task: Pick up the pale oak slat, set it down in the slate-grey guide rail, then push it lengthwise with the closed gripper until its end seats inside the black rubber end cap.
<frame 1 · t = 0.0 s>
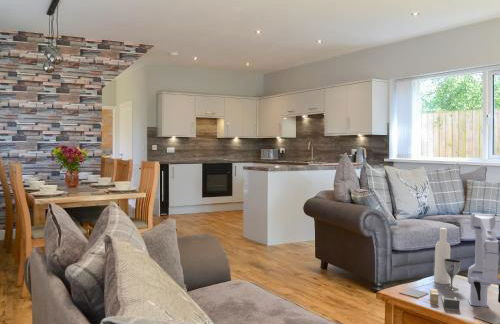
hand: (489, 301, 196), 10 cm above the table, fingers open, 7 cm apart
slat: (433, 301, 226), on the table
bottle: (441, 282, 259), on the table
wine glass: (451, 289, 247), on the table
endcap rail: (450, 304, 222), on the table
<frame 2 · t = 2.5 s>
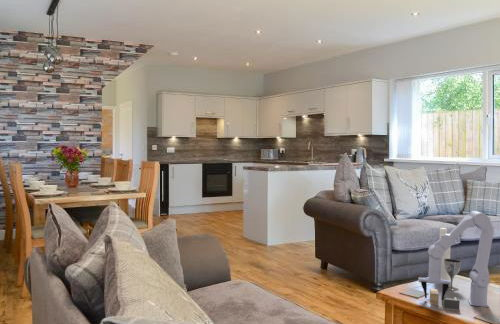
hand: (434, 298, 226), 1 cm above the table, fingers open, 7 cm apart
nothing on the table moved.
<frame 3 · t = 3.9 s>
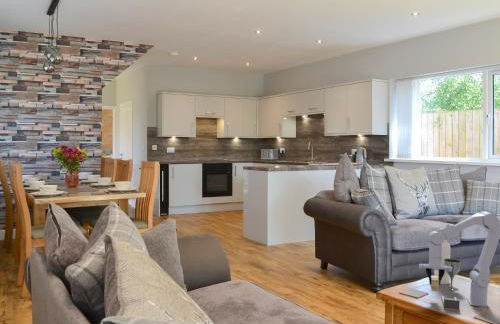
hand: (434, 284, 225), 8 cm above the table, fingers closed on slat, 3 cm apart
slat: (434, 288, 225), point 6 cm above the table, touching gripper
everything else where it was.
when the fingers open (4 cm above the table, at t = 5.6 s): slat drops 1 cm, resting on endcap rail.
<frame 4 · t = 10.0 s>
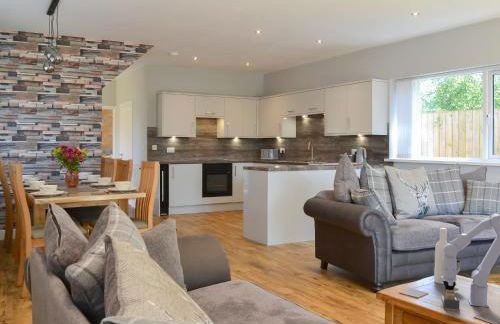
hand: (448, 296, 228), 2 cm above the table, fingers closed
slat: (449, 303, 222), point 1 cm above the table, touching endcap rail, gripper
everything else where it was.
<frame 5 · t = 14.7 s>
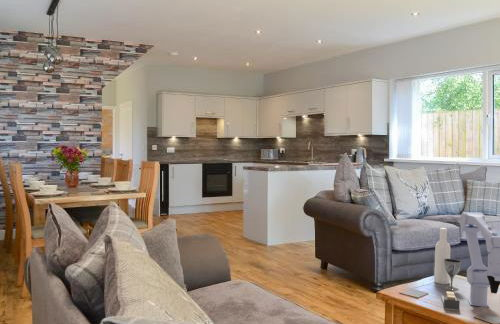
hand: (493, 292, 208), 10 cm above the table, fingers closed
slat: (450, 304, 219), point 1 cm above the table, touching endcap rail
everything else where it was.
at the end: slat 0.4 cm from the target spot on the endcap rail, point 0.6 cm above the endcap rail's base; slat tilted 0° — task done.
